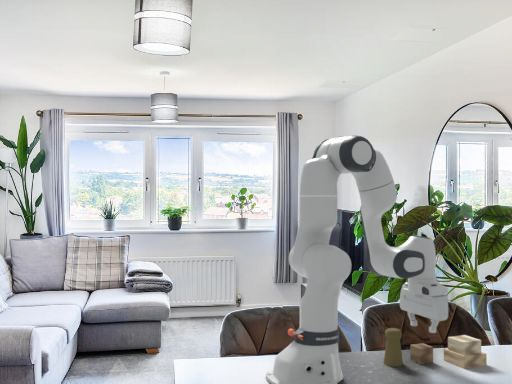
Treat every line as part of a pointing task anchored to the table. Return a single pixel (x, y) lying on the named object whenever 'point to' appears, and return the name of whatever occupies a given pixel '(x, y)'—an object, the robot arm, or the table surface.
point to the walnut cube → (421, 353)
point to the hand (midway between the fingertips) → (423, 329)
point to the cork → (393, 348)
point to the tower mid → (464, 345)
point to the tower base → (465, 359)
